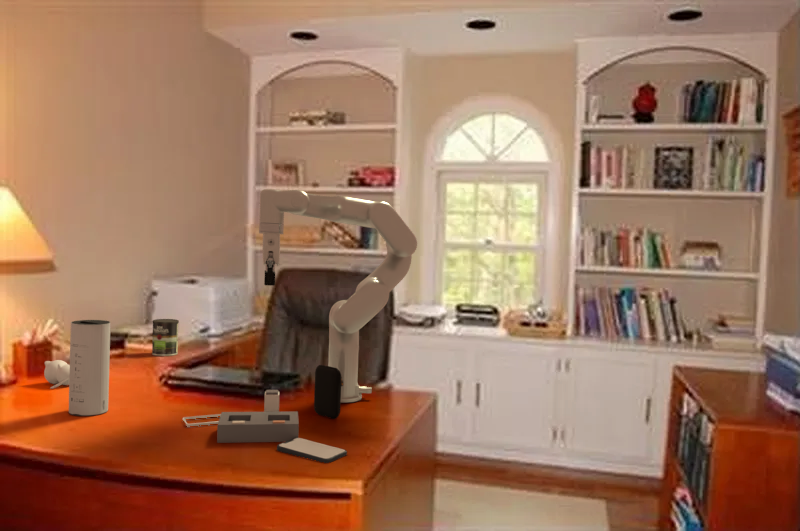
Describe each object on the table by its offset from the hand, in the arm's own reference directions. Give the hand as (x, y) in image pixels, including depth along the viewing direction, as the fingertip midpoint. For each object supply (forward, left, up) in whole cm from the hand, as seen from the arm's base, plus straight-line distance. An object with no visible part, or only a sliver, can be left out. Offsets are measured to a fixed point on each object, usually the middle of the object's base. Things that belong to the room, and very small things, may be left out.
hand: (269, 284), depth 213 cm
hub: (+1, +38, -36) cm, 53 cm away
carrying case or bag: (-18, +21, -37) cm, 46 cm away
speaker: (+49, +13, -37) cm, 63 cm away
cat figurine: (+67, -20, -37) cm, 79 cm away
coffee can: (+43, -78, -37) cm, 96 cm away
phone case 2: (-12, +52, -37) cm, 65 cm away
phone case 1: (+14, +24, -37) cm, 47 cm away
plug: (-2, +25, -36) cm, 44 cm away
